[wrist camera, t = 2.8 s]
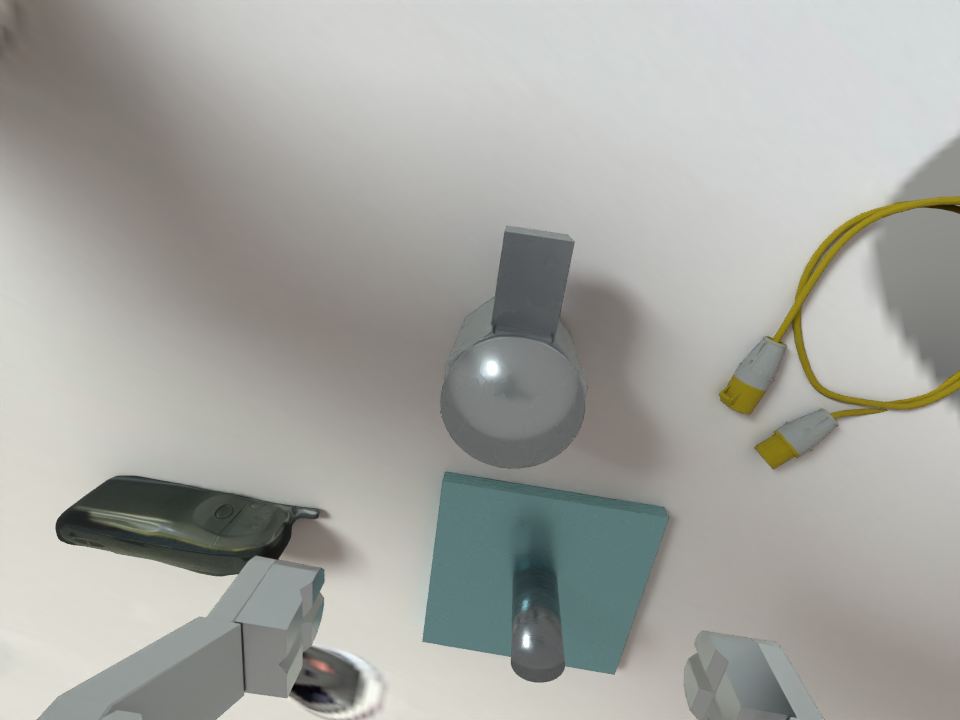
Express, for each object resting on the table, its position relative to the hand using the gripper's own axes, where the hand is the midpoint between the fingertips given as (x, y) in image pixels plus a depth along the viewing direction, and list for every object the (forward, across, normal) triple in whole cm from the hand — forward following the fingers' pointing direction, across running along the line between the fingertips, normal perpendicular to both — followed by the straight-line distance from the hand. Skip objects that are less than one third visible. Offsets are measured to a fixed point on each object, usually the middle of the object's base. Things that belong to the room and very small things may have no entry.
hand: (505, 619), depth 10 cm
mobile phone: (+18, +19, +14) cm, 30 cm away
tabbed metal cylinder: (+18, 0, -2) cm, 18 cm away
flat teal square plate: (+18, -4, +16) cm, 24 cm away
